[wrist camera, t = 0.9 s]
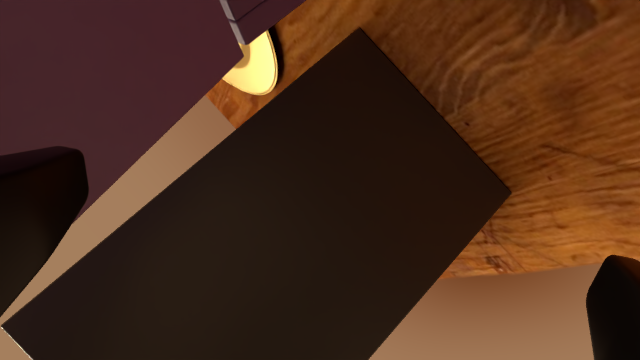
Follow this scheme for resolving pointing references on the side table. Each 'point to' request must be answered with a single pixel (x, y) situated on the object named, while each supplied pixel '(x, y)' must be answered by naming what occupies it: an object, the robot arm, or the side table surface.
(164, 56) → the lid
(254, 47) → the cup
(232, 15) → the file holder
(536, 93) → the side table surface
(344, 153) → the desk stand
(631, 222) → the side table surface
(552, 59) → the side table surface
